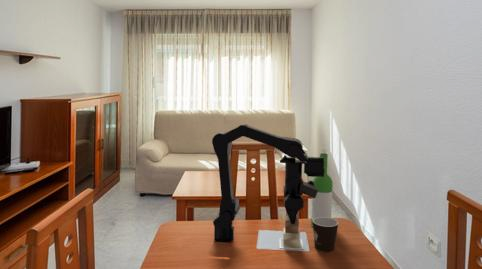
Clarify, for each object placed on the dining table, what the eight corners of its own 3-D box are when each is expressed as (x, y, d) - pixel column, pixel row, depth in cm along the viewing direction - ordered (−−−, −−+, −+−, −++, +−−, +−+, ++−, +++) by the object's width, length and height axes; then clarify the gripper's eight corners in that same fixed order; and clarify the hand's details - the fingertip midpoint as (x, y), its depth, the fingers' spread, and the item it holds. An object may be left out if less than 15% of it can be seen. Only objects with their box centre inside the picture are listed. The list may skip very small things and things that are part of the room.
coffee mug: (337, 256, 118) (339, 227, 116) (311, 253, 119) (312, 225, 118) (335, 241, 129) (337, 215, 128) (311, 239, 131) (312, 213, 129)
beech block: (283, 247, 123) (283, 233, 122) (283, 240, 128) (283, 227, 128) (299, 247, 122) (299, 234, 122) (298, 241, 128) (298, 227, 127)
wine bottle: (306, 226, 143) (309, 153, 139) (319, 222, 147) (322, 151, 143) (321, 233, 136) (324, 156, 132) (334, 228, 141) (338, 154, 137)
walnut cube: (285, 232, 123) (285, 220, 122) (285, 227, 127) (285, 215, 126) (298, 233, 122) (298, 220, 122) (297, 228, 127) (298, 216, 126)
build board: (256, 250, 122) (256, 247, 122) (258, 231, 137) (258, 229, 137) (309, 253, 120) (309, 250, 120) (305, 233, 136) (305, 231, 136)
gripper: (320, 183, 112) (318, 230, 114) (314, 170, 130) (313, 210, 132) (284, 182, 113) (283, 229, 115) (283, 169, 131) (283, 209, 134)
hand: (292, 219), depth 124 cm, fingers open, 9 cm apart
